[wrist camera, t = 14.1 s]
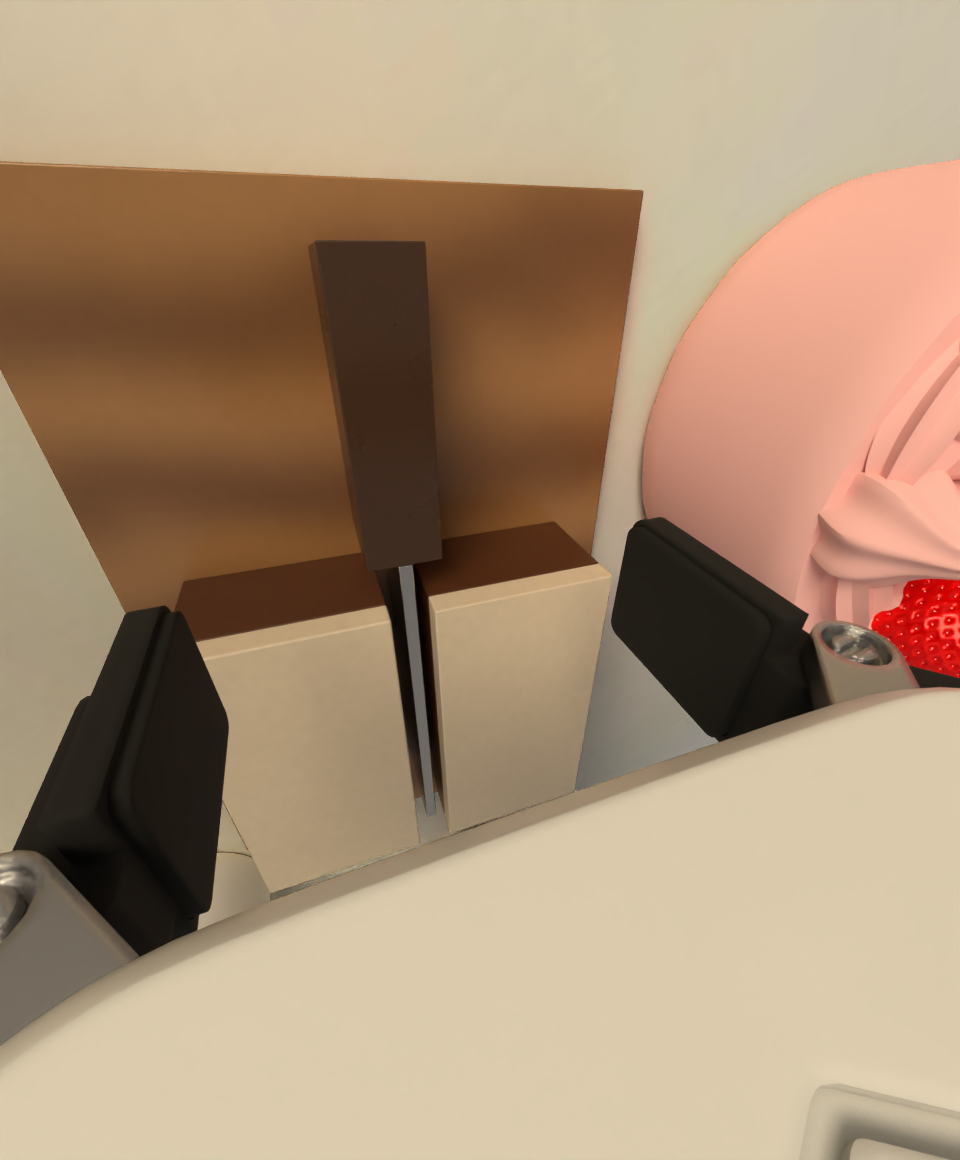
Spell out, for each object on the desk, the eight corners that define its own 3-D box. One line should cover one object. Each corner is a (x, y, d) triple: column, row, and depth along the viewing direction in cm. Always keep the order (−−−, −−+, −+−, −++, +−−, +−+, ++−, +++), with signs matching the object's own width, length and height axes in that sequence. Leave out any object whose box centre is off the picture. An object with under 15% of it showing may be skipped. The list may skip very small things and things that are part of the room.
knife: (307, 245, 14) (314, 239, 11) (395, 245, 15) (425, 240, 12) (392, 759, 27) (406, 823, 24) (436, 746, 28) (456, 807, 25)
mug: (239, 951, 34) (222, 1213, 25) (81, 913, 27) (-28, 1263, 18) (334, 890, 34) (354, 1130, 25) (202, 834, 27) (158, 1145, 17)
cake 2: (405, 544, 20) (434, 612, 16) (554, 520, 22) (613, 575, 18) (426, 754, 28) (450, 834, 24) (536, 722, 30) (574, 792, 26)
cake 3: (1031, 246, 24) (1683, 230, 13) (816, 583, 34) (1082, 744, 22) (757, 90, 17) (1746, -271, 5) (580, 581, 26) (803, 820, 15)
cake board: (-85, 163, 12) (-111, 155, 11) (628, 193, 17) (644, 189, 16) (248, 834, 28) (247, 850, 27) (556, 742, 34) (562, 753, 33)
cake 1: (182, 580, 18) (154, 669, 14) (369, 550, 20) (390, 621, 16) (272, 797, 26) (270, 894, 22) (401, 761, 28) (420, 844, 24)
